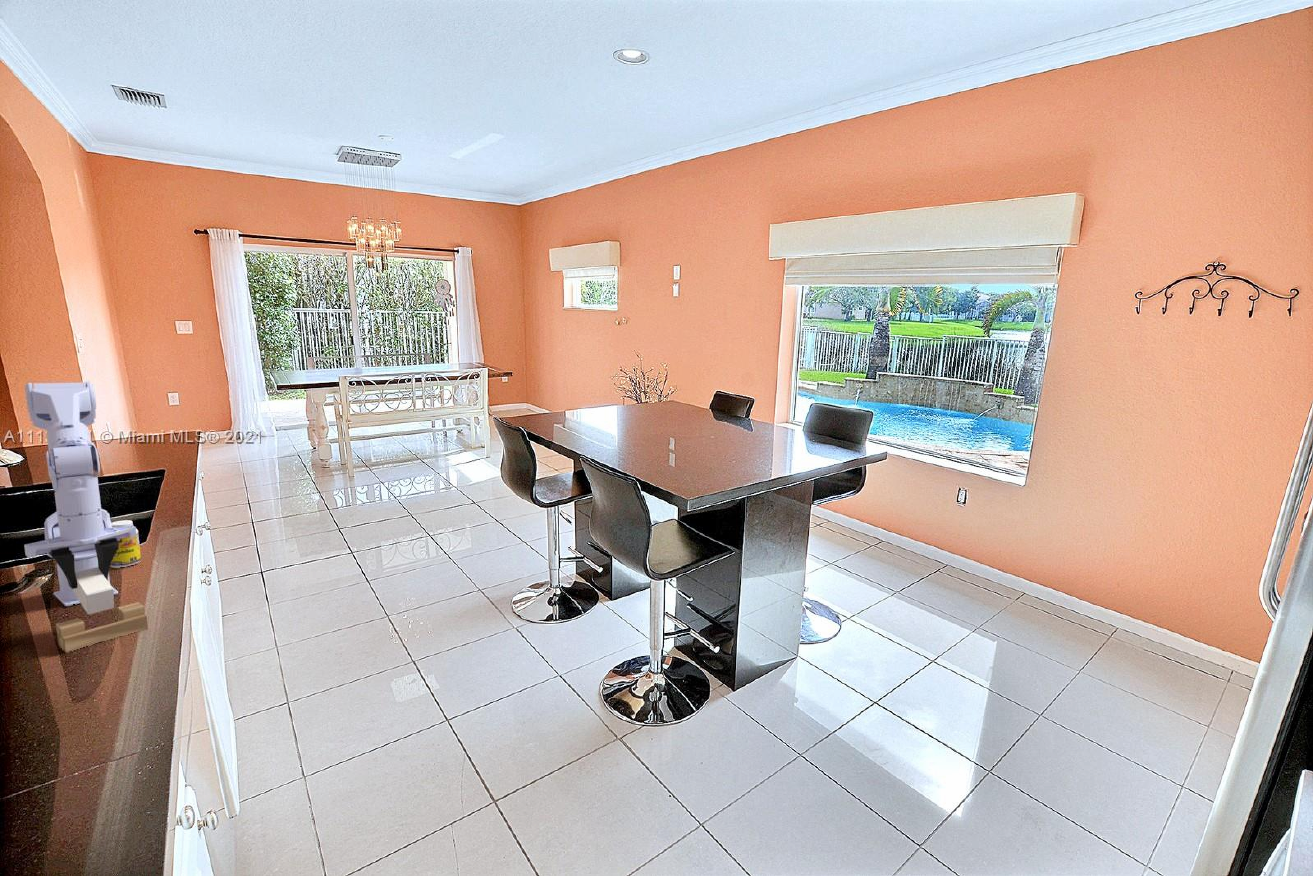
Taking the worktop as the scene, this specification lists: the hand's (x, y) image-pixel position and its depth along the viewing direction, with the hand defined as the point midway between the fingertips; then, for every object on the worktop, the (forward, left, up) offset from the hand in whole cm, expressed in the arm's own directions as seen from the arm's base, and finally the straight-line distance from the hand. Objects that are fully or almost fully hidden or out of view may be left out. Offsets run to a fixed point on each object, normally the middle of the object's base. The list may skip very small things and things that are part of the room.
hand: (88, 583), depth 109 cm
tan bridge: (+6, 0, -8) cm, 10 cm away
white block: (+1, 0, -3) cm, 3 cm away
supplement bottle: (-33, +13, -9) cm, 36 cm away
